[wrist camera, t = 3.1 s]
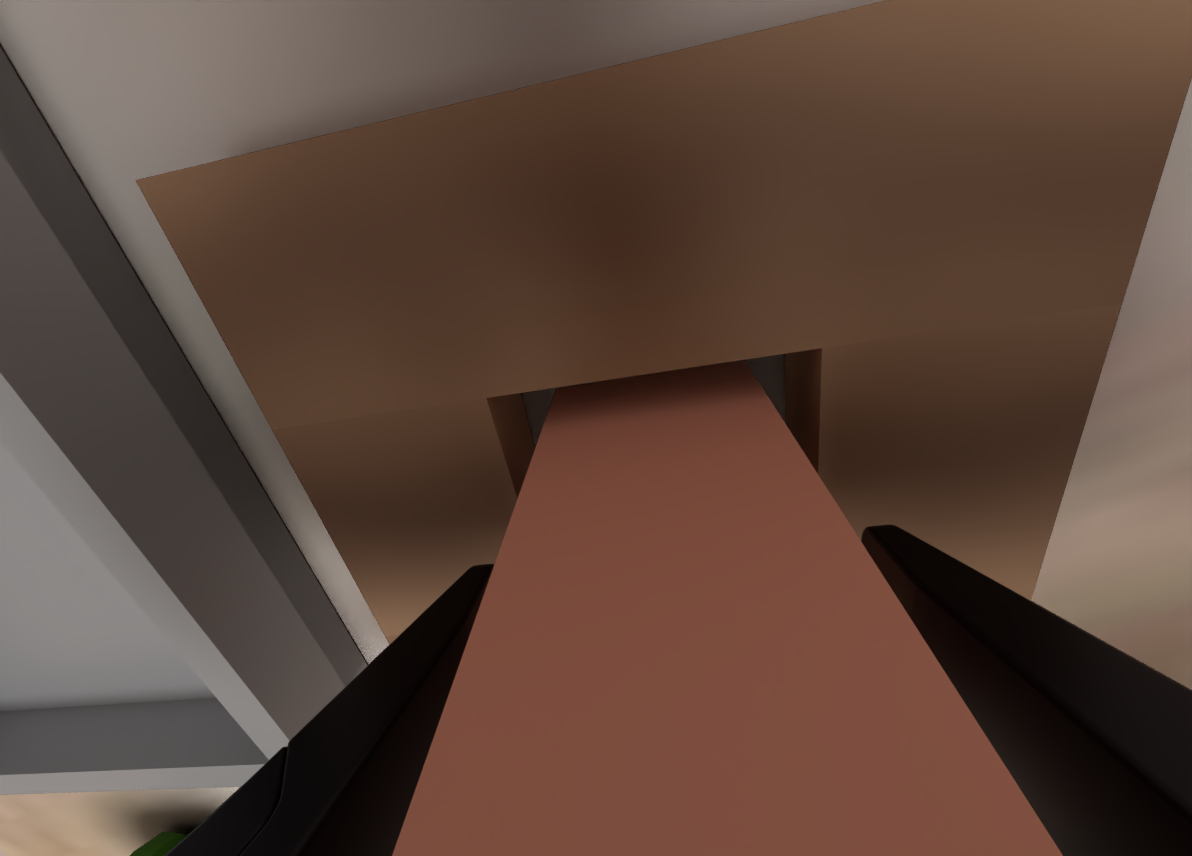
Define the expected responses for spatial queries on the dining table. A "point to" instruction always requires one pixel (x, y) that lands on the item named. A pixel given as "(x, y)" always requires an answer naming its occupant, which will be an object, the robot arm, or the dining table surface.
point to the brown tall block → (699, 659)
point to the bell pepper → (159, 844)
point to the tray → (130, 525)
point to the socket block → (708, 268)
